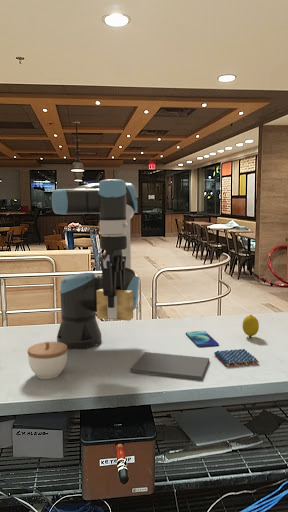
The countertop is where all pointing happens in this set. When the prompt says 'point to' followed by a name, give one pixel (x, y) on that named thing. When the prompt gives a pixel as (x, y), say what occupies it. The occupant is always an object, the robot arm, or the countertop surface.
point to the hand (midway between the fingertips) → (115, 316)
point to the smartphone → (201, 339)
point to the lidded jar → (47, 359)
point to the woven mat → (235, 357)
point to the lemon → (250, 325)
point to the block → (122, 305)
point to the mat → (171, 365)
